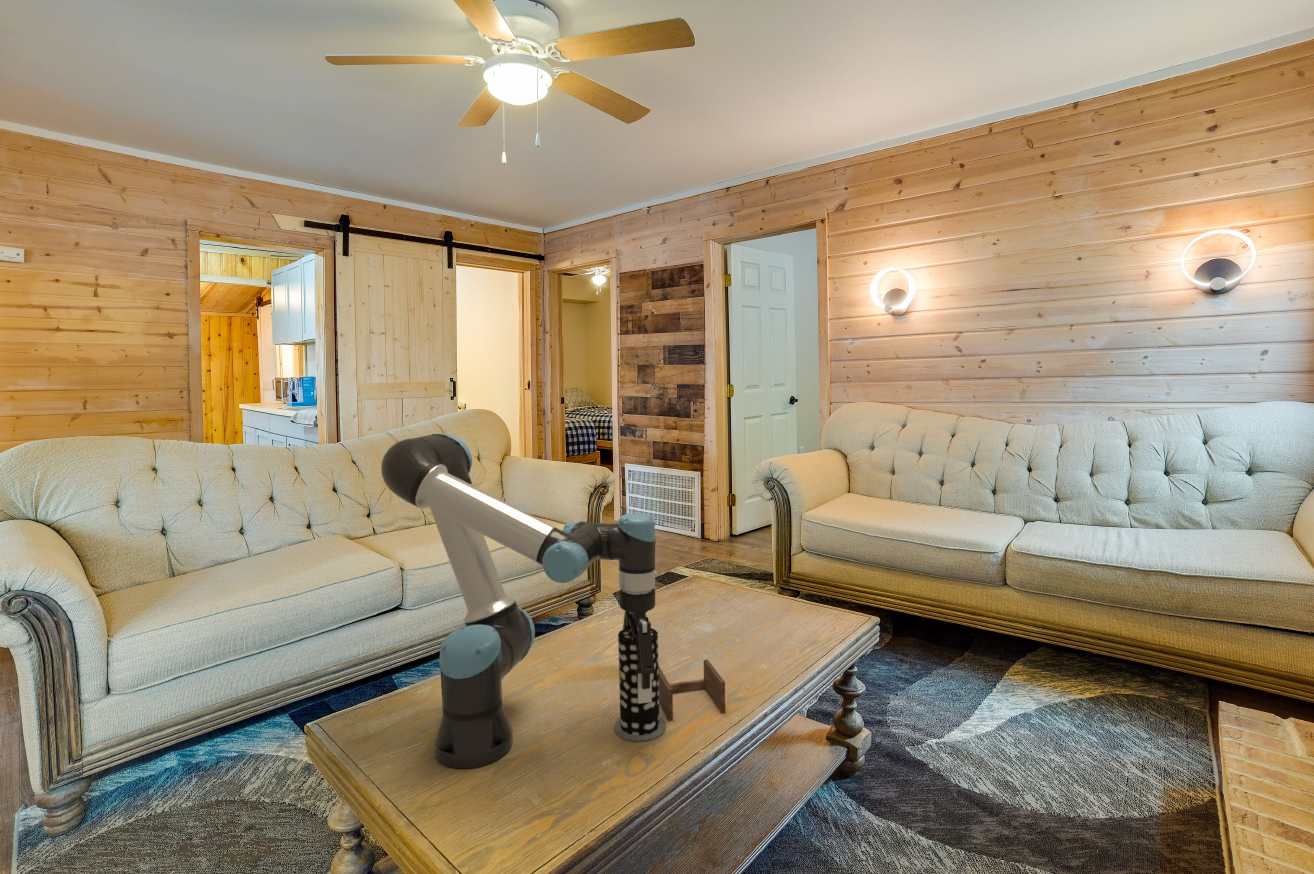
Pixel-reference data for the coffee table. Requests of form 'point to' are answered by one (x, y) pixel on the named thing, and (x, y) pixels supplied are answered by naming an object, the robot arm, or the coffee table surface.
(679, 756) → the coffee table surface
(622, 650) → the spotted tube
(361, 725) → the coffee table surface
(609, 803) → the coffee table surface
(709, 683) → the rack
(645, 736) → the coaster
